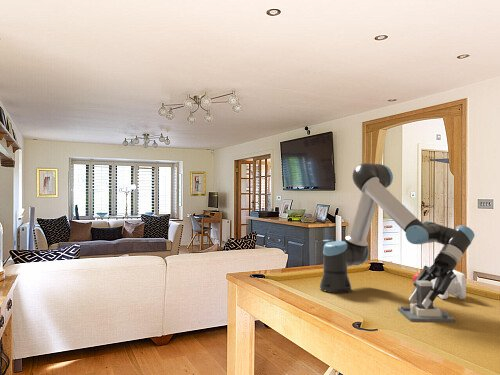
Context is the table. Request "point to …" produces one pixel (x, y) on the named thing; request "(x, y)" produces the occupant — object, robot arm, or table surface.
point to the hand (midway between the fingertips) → (417, 304)
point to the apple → (415, 276)
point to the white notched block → (455, 286)
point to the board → (425, 314)
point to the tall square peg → (423, 292)
